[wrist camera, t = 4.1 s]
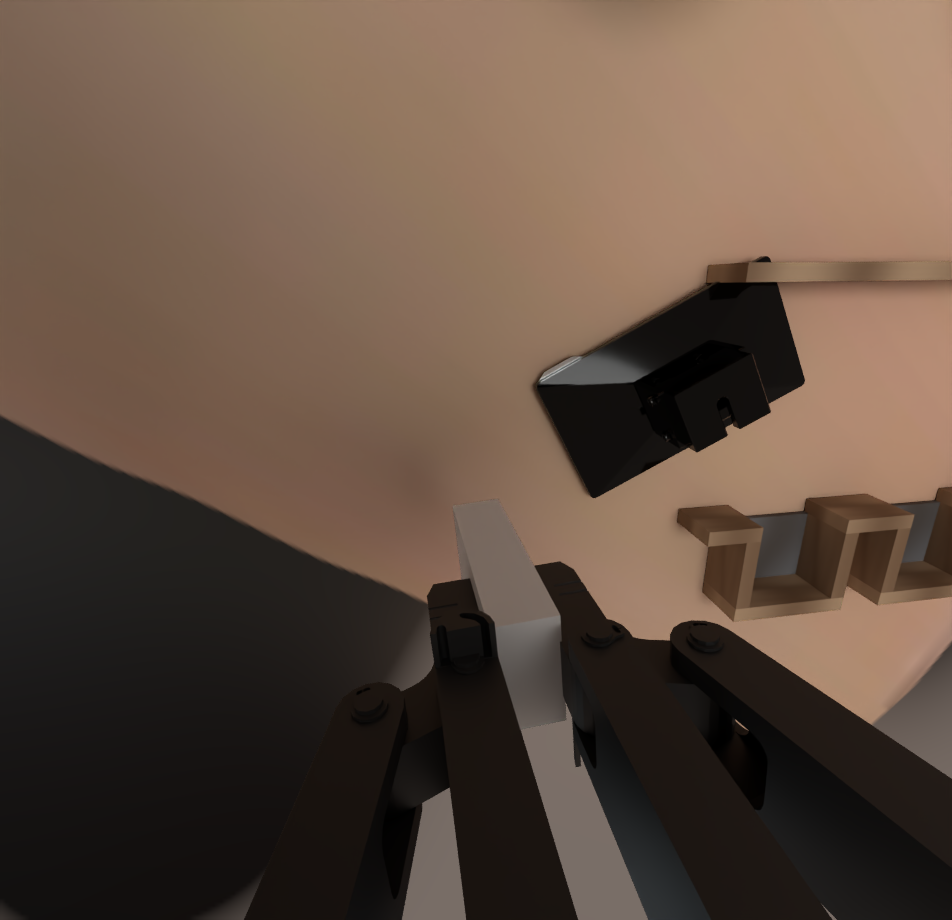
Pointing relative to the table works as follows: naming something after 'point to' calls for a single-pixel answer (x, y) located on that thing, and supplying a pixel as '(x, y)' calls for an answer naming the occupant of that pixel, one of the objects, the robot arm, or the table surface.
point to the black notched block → (673, 382)
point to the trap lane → (825, 512)
